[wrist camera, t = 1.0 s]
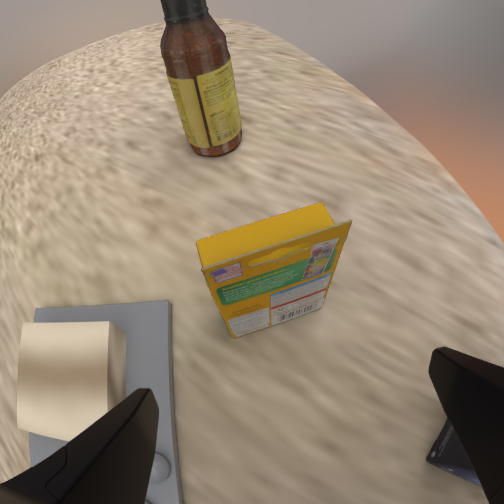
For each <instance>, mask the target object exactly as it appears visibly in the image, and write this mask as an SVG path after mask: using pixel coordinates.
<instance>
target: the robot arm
mask: <svg viewBox="0 0 504 504" xmlns="http://www.w3.org/2000/svg"><path fill="white" fill-rule="evenodd" d="M429 376H430V378H431V381H432V383H433V385H434V388H435V390H436V392H437V395H438V397H439V400H440V402H441V405H442V407H443V409H444V411H445V413H446V415H447V417H448V419H449V421H450V423H451V424H452V426H453V428H454V430H455V432H456V434H457V436H458V438H459V440H460V442H461V444H462V446H463V448H464V450H465V452H466V454H467V456H468V458H469V460H470V462H471V464H472V466H473V468H474V470H475V473H476V475H477V477H478V479H479V481H480V483H481V486H482V488H483V490H484V493H485V495H486V497H487V499H488V501H489V504H504V368H503V367H500V366H497V365H495V364H492V363H489V362H486V361H483V360H481V359H478V358H475V357H472V356H470V355H467V354H464V353H461V352H459V351H456V350H453V349H450V348H448V347H440V348H436V349H434V350H433V352H432V356H431V361H430V365H429ZM158 421H159V407H158V404H157V401H156V399H155V396H154V394H153V391H152V390H151V389H150V388H138V389H136V390H135V391H134V392H132V393H131V394H130V395H129V396H127V397H126V398H125V399H124V400H122V401H121V402H120V403H119V404H117V405H116V406H115V407H113V408H112V409H111V410H110V411H108V412H107V413H106V414H105V415H103V416H102V417H101V418H99V419H98V420H97V421H95V422H94V423H93V424H92V425H90V426H89V427H88V428H86V429H85V430H84V431H82V432H81V433H80V434H79V435H77V436H76V437H75V438H73V439H72V440H71V441H69V442H68V443H67V444H66V446H63V447H61V448H60V449H59V450H57V451H56V452H54V453H53V454H52V455H50V456H49V457H47V458H46V459H44V460H43V461H41V462H39V463H38V464H36V465H35V466H33V467H31V468H29V469H28V470H26V471H24V472H22V473H21V474H19V475H17V476H15V477H14V478H12V479H10V480H8V481H6V482H4V483H1V484H0V504H145V499H146V494H147V490H148V485H149V480H150V475H151V471H152V466H153V462H154V457H155V451H156V441H157V431H158Z"/></svg>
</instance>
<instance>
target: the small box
mask: <svg viewBox="0 0 504 504" xmlns="http://www.w3.org/2000/svg"><path fill="white" fill-rule="evenodd" d="M427 462H429V463H431V464H433V465H435V466H437V467H439V468H441V469H443V470H445V471H447V472H449V473H451V474H454V475H456V476H458V477H460V478H463V479H465V480H467V481H470V482H472V483H474V484H477V485H480V486H481V483H480V481H479V479H478V477H477V475H476V473H475V470H474V468H473V466H472V464H471V462H470V460H469V458H468V456H467V454H466V452H465V450H464V448H463V446H462V444H461V442H460V440H459V438H458V436H457V434H456V432H455V430H454V428H453V426H452V424H451V423H450V421H449V419H448V420H447V422H446V424H445V426H444V428H443V430H442V432H441V434H440V436H439V438H438V439H437V440H436V442H435V444H434V446H433V448H432V450H431V452H430V454H429V456H428V458H427Z"/></svg>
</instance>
